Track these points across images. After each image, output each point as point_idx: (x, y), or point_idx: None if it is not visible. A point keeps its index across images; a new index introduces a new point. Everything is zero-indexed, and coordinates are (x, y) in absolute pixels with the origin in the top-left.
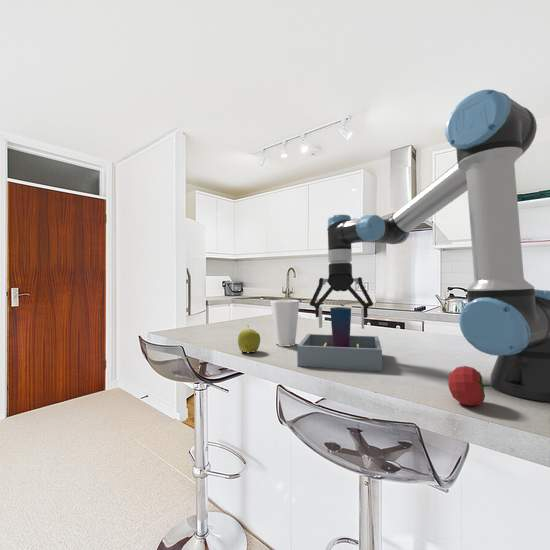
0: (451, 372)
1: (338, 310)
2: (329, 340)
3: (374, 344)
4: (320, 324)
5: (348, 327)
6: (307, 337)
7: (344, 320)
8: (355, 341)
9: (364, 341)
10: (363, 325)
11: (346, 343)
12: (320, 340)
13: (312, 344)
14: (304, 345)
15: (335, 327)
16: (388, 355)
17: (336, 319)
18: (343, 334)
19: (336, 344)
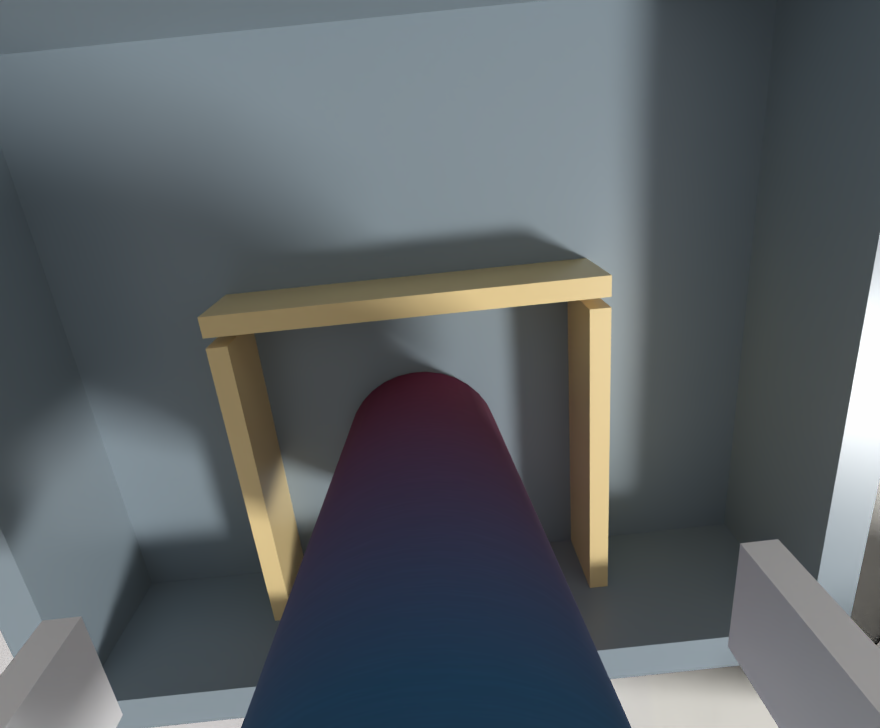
0: None
1: None
2: None
3: (122, 634)
4: (787, 581)
5: (289, 598)
6: (846, 474)
7: (322, 647)
8: None
9: (209, 646)
10: (20, 665)
11: (351, 446)
12: (665, 594)
13: (728, 553)
14: (858, 161)
15: (502, 539)
16: None
17: (501, 642)
18: (372, 481)
19: (466, 418)
